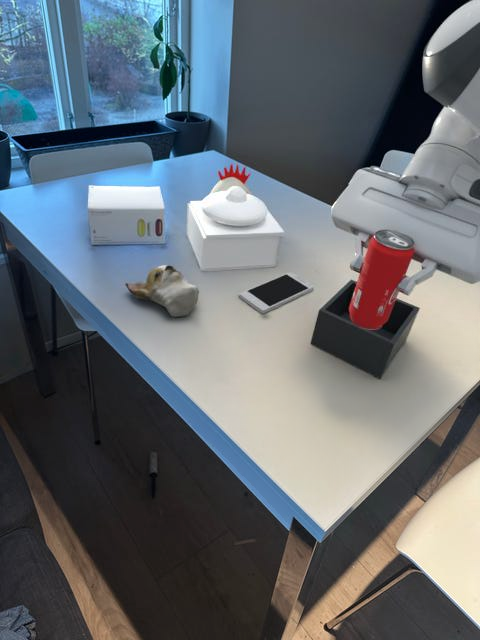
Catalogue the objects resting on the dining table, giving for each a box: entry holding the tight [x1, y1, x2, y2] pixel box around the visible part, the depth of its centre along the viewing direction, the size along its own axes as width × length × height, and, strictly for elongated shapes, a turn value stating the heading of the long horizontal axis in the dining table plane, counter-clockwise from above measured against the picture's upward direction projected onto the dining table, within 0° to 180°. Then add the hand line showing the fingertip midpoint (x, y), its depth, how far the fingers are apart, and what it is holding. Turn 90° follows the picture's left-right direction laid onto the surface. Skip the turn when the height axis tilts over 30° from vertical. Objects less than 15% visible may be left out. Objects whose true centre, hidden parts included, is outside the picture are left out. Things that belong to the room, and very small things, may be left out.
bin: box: [310, 279, 421, 380], centre depth 81 cm, size 14×14×8 cm
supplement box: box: [87, 184, 166, 246], centre depth 106 cm, size 17×13×9 cm
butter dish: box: [186, 187, 285, 272], centre depth 102 cm, size 18×18×16 cm
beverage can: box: [349, 230, 415, 330], centre depth 56 cm, size 5×5×12 cm
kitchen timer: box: [209, 163, 253, 195], centre depth 115 cm, size 14×14×15 cm
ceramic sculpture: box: [124, 264, 200, 318], centre depth 85 cm, size 11×9×15 cm
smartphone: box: [239, 271, 315, 314], centre depth 93 cm, size 7×16×1 cm, turn 132°
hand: (378, 281), depth 55 cm, fingers closed on beverage can, 5 cm apart
